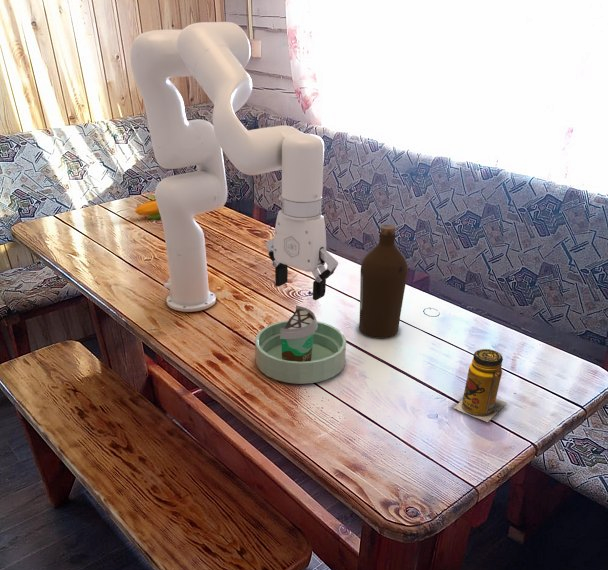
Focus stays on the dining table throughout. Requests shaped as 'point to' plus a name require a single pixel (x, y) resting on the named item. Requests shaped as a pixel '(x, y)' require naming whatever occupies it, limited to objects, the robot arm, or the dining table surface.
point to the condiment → (482, 386)
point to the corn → (149, 209)
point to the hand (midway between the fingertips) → (299, 291)
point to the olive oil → (382, 287)
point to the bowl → (321, 367)
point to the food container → (298, 336)
